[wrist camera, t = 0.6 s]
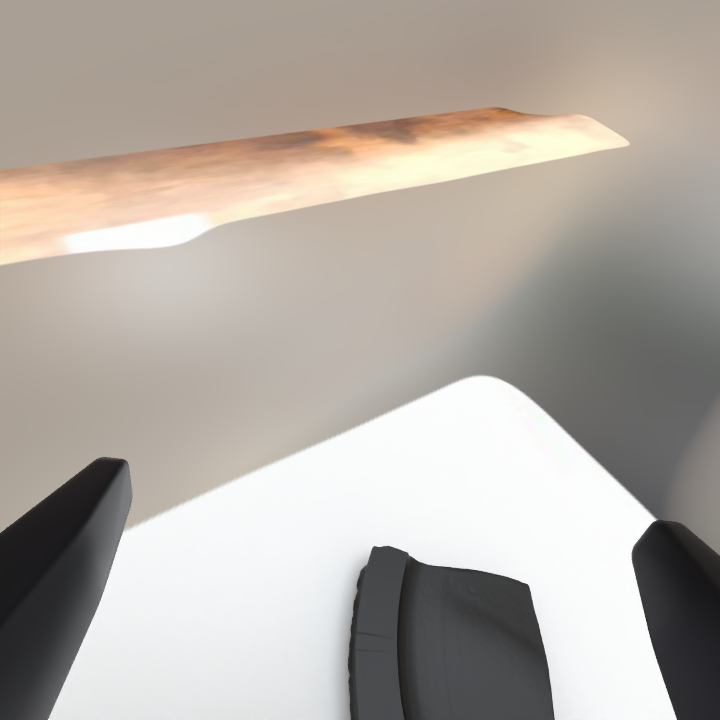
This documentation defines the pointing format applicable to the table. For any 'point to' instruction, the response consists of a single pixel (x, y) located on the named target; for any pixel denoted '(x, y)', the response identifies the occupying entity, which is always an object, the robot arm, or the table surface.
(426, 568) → the dark sector wedge
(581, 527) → the table surface
